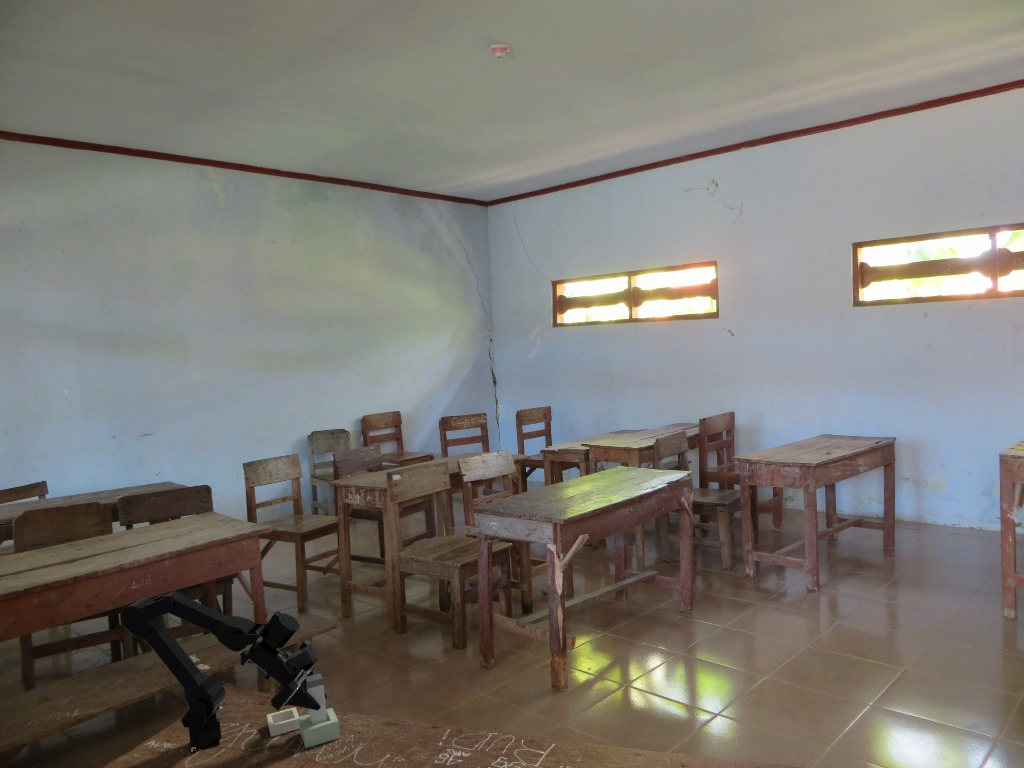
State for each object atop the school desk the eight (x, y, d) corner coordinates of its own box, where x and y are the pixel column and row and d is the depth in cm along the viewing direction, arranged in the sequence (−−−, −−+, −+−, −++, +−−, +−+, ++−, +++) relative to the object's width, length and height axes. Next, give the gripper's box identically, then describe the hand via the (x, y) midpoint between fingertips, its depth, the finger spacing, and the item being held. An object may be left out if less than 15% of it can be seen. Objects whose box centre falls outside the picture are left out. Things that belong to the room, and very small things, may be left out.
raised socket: (305, 748, 170) (303, 731, 170) (300, 733, 178) (298, 717, 177) (340, 737, 174) (338, 721, 174) (333, 723, 181) (332, 707, 181)
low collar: (270, 736, 177) (269, 726, 177) (267, 724, 184) (266, 714, 184) (300, 728, 180) (299, 718, 180) (296, 716, 186) (295, 707, 186)
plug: (313, 732, 173) (307, 682, 173) (310, 726, 176) (305, 676, 176) (328, 728, 175) (322, 678, 174) (325, 722, 178) (320, 673, 177)
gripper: (279, 651, 166) (332, 696, 166) (306, 621, 184) (354, 662, 184) (248, 688, 166) (301, 733, 166) (278, 655, 185) (326, 695, 185)
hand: (322, 703), depth 175 cm, fingers closed on plug, 5 cm apart
